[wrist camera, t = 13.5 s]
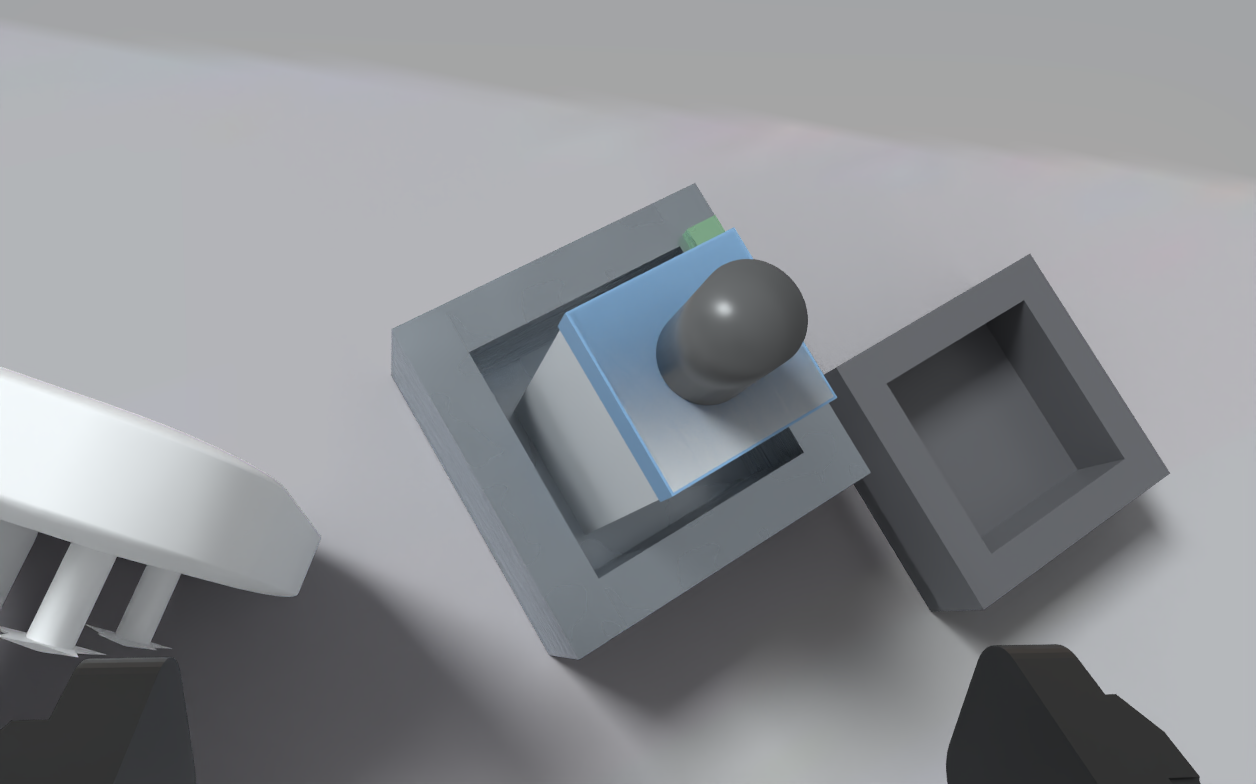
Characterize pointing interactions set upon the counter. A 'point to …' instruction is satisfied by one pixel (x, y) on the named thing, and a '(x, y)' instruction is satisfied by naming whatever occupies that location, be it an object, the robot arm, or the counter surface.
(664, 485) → the plug
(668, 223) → the port
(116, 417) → the cable organizer
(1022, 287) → the holster
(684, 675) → the counter surface
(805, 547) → the counter surface
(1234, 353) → the counter surface
